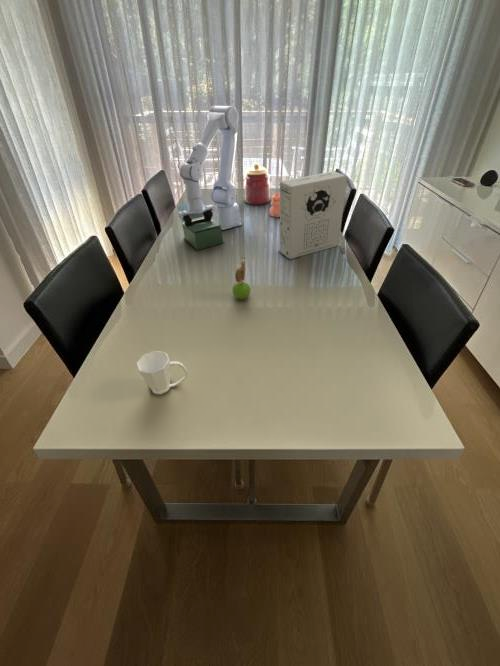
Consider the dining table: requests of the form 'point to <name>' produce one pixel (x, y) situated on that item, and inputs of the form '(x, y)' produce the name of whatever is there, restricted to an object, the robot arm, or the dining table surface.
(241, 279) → the figurine on green ball
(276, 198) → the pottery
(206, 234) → the box
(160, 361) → the cup
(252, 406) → the dining table surface
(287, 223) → the cereal box
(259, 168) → the kitchen canister
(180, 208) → the pale green slab
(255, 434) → the dining table surface
